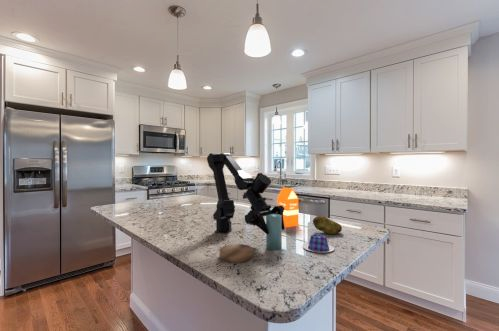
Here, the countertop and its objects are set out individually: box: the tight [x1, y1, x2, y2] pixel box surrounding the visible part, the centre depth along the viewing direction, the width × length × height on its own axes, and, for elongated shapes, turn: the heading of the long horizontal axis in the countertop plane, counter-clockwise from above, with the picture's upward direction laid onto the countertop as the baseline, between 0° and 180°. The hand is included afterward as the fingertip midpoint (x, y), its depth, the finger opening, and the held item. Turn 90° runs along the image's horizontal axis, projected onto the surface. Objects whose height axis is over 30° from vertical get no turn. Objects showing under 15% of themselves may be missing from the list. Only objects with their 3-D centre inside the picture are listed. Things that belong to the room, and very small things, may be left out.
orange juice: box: [276, 186, 300, 228], centre depth 137 cm, size 8×9×20 cm
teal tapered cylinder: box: [265, 214, 283, 252], centre depth 99 cm, size 6×6×13 cm
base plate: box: [219, 243, 254, 264], centre depth 91 cm, size 12×12×2 cm
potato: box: [312, 215, 343, 235], centre depth 120 cm, size 8×13×8 cm, turn 63°
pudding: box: [302, 233, 335, 254], centre depth 99 cm, size 12×12×5 cm
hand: (276, 231), depth 98 cm, fingers open, 9 cm apart
